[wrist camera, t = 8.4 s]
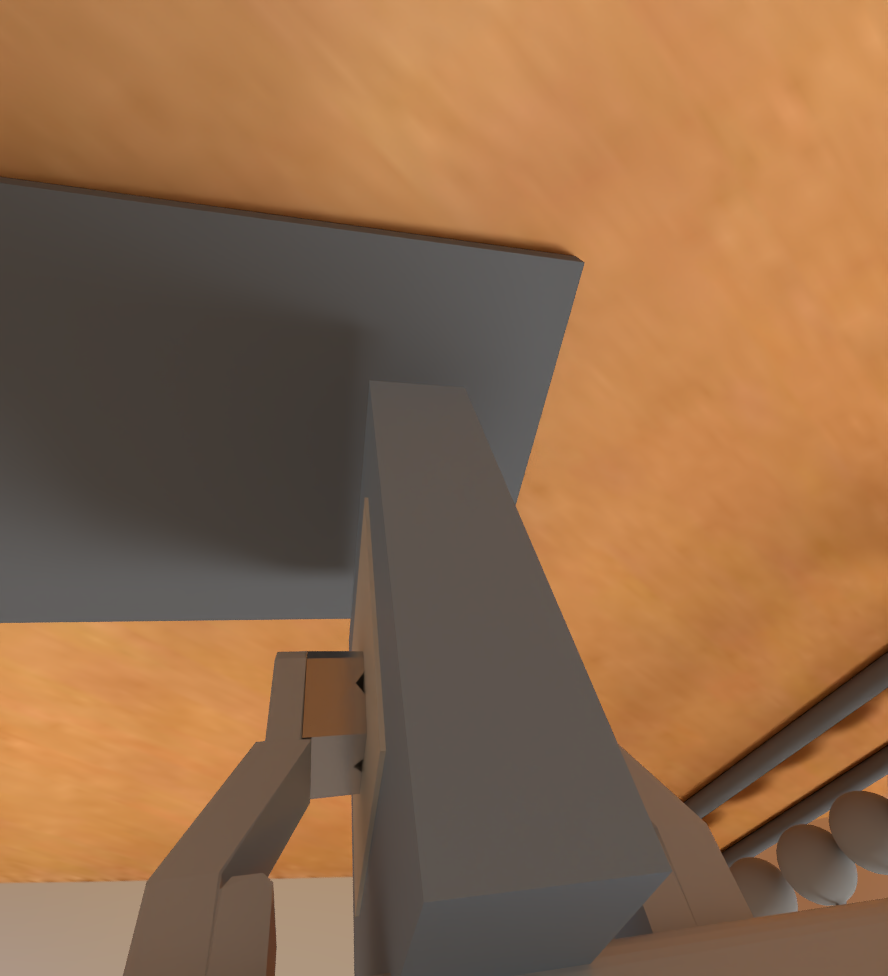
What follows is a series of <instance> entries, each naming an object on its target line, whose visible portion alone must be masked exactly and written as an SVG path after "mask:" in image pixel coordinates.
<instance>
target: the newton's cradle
mask: <svg viewBox="0 0 888 976" xmlns="http://www.w3.org/2000/svg"><path fill="white" fill-rule="evenodd" d="M886 688H888V652H887V653H886V654H884V655H883V656H881V657H880V658H879V659H877V660H876V661H875V662H873V663H872V664H871V665H869V666H868V667H867V668H865V669H864V670H863V671H861V672H860V673H858V674H857V675H856V676H854V677H853V678H852V679H850V680H849V681H848V682H846V683H845V684H844V685H842V686H841V687H840V688H838V689H837V690H836V691H834V692H833V693H831V694H830V695H829V696H827V697H826V698H825V699H823V700H822V701H821V702H819V703H818V704H817V705H815V706H814V707H813V708H811V709H810V710H808V711H807V712H806V713H804V714H803V715H802V716H800V717H799V718H798V719H796V720H795V721H794V722H792V723H791V724H790V725H788V726H787V727H785V728H784V729H783V730H781V731H780V732H779V733H777V734H776V735H775V736H773V737H772V738H771V739H769V740H768V741H767V742H765V743H764V744H762V745H761V746H760V747H758V748H757V749H756V750H754V751H753V752H752V753H750V754H749V755H748V756H746V757H745V758H744V759H742V760H741V761H740V762H738V763H737V764H735V765H734V766H733V767H731V768H730V769H729V770H727V771H726V772H725V773H723V774H722V775H721V776H719V777H718V778H717V779H715V780H714V781H712V782H711V783H710V784H708V785H707V786H706V787H704V788H703V789H702V790H700V791H699V792H698V793H696V794H695V795H694V796H692V797H691V798H689V799H688V800H687V801H685V802H684V804H685V805H687V806H688V807H689V808H690V809H691V810H692V811H693V812H694V813H695V814H696V815H698V816H699V817H700V818H701V819H702V818H703V817H704V816H706V815H707V814H709V813H710V812H711V811H713V810H714V809H716V808H717V807H719V806H720V805H721V804H723V803H724V802H726V801H727V800H729V799H730V798H731V797H733V796H734V795H736V794H737V793H738V792H740V791H741V790H743V789H744V788H746V787H747V786H748V785H750V784H751V783H753V782H754V781H756V780H757V779H758V778H760V777H761V776H763V775H764V774H765V773H767V772H768V771H770V770H771V769H773V768H774V767H775V766H777V765H778V764H780V763H781V762H783V761H784V760H785V759H787V758H788V757H790V756H791V755H792V754H794V753H795V752H797V751H798V750H800V749H801V748H802V747H804V746H805V745H807V744H808V743H810V742H811V741H812V740H814V739H815V738H817V737H818V736H819V735H821V734H822V733H824V732H825V731H827V730H828V729H829V728H831V727H832V726H834V725H835V724H837V723H838V722H839V721H841V720H842V719H844V718H845V717H846V716H848V715H849V714H851V713H852V712H854V711H855V710H856V709H858V708H859V707H861V706H862V705H864V704H865V703H866V702H868V701H869V700H871V699H872V698H873V697H875V696H876V695H878V694H879V693H881V692H882V691H883V690H885V689H886ZM887 774H888V746H886V747H885V748H883V749H882V750H880V751H879V752H877V753H876V754H874V755H873V756H871V757H869V758H868V759H866V760H865V761H863V762H862V763H860V764H859V765H857V766H856V767H854V768H852V769H851V770H849V771H848V772H846V773H845V774H843V775H842V776H840V777H838V778H837V779H835V780H834V781H832V782H831V783H829V784H828V785H826V786H825V787H823V788H821V789H820V790H818V791H817V792H815V793H814V794H812V795H811V796H809V797H807V798H806V799H804V800H803V801H801V802H800V803H798V804H797V805H795V806H794V807H792V808H790V809H789V810H787V811H786V812H784V813H783V814H781V815H780V816H778V817H777V818H775V819H773V820H772V821H770V822H769V823H767V824H766V825H764V826H763V827H761V828H759V829H758V830H756V831H755V832H753V833H752V834H750V835H749V836H747V837H746V838H744V839H742V840H741V841H739V842H738V843H736V844H735V845H733V846H732V847H730V848H728V849H727V850H725V851H724V852H722V855H723V857H724V859H725V861H726V863H727V865H728V867H729V869H730V871H731V873H732V875H733V877H734V879H735V881H736V883H737V885H738V887H739V889H740V891H741V893H742V895H743V897H744V899H745V901H746V903H747V905H748V907H749V909H750V911H751V913H752V915H753V917H754V918H757V917H763V916H770V915H777V914H783V913H790V912H797V910H798V906H797V898H796V895H795V892H794V890H795V891H796V892H798V893H799V894H800V895H801V896H803V897H804V898H806V899H808V900H809V901H812V902H815V903H817V904H821V905H826V906H829V905H834V906H836V905H843V904H847V903H846V901H847V900H848V899H849V898H850V897H851V896H852V895H853V893H854V891H855V889H856V885H857V870H856V866H855V863H856V864H857V865H859V866H861V867H863V868H864V869H867V870H869V871H872V872H874V873H878V874H884V875H888V799H886V798H885V797H883V796H880V795H878V794H875V793H871V792H867V791H861V790H863V789H865V788H866V787H868V786H870V785H871V784H873V783H874V782H876V781H878V780H879V779H881V778H883V777H884V776H886V775H887ZM829 810H830V812H829V826H830V830H831V833H832V834H831V833H830V832H828V831H826V830H824V829H822V828H820V827H817V826H814V825H807V824H808V823H810V822H811V821H813V820H814V819H816V818H818V817H819V816H821V815H823V814H824V813H826V812H827V811H829ZM777 842H778V843H777ZM776 843H777V850H776V852H777V861H778V865H779V868H780V870H781V871H780V870H779V869H778V868H777V867H775V866H774V865H772V864H771V863H769V862H767V861H765V860H762V859H760V858H754V856H756V855H758V854H759V853H761V852H762V851H764V850H766V849H767V848H769V847H771V846H772V845H774V844H776Z"/></svg>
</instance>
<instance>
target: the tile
mask: <svg viewBox="0 0 888 976" xmlns="http://www.w3.org/2000/svg"><path fill="white" fill-rule="evenodd" d="M349 651H363V655H364V680H363V690H362V691H363V692H364V693H365V696H366V720H367V738H366V746H365V754H364V758H363V759H362V779H361V787H360V794H352V852H353V912H354V971H355V972H354V973H355V976H373V975H379V974H386V973H390V974H391V976H516V975H522V974H529V973H535V972H541V971H547V970H554V969H560V968H566V967H572V966H579V965H585V964H591V963H592V962H593V961H594V959H595V958H596V957H597V956H598V955H599V954H600V953H601V952H602V950H603V949H604V948H605V947H606V946H607V945H608V944H609V943H610V941H611V940H612V939H613V938H614V937H615V936H616V935H617V933H618V932H619V931H620V930H621V929H622V928H623V927H624V926H625V924H626V923H627V922H628V921H629V920H630V919H631V918H632V916H633V915H634V914H635V913H636V912H637V911H638V910H639V909H640V907H641V906H642V905H643V904H644V903H645V902H646V901H647V899H648V898H649V897H650V896H651V895H652V894H653V893H654V892H655V890H656V889H657V888H658V887H659V886H660V885H661V884H662V882H663V881H664V880H665V879H666V878H667V877H668V876H669V875H670V873H671V872H672V869H671V867H670V865H669V862H668V860H667V858H666V855H665V853H664V851H663V848H662V846H661V844H660V841H659V839H658V837H657V834H656V832H655V830H654V827H653V825H652V823H651V820H650V818H649V816H648V813H647V811H646V809H645V806H644V804H643V802H642V799H641V797H640V795H639V792H638V790H637V788H636V785H635V783H634V781H633V778H632V776H631V774H630V771H629V769H628V767H627V764H626V762H625V760H624V757H623V755H622V753H621V750H620V748H619V746H618V743H617V741H616V739H615V736H614V734H613V732H612V730H611V727H610V725H609V723H608V720H607V718H606V716H605V713H604V711H603V709H602V706H601V704H600V702H599V699H598V697H597V695H596V692H595V690H594V688H593V685H592V683H591V681H590V678H589V676H588V674H587V671H586V669H585V667H584V664H583V662H582V660H581V657H580V655H579V653H578V650H577V648H576V646H575V643H574V641H573V639H572V636H571V634H570V632H569V629H568V627H567V625H566V622H565V620H564V618H563V615H562V613H561V611H560V608H559V606H558V604H557V601H556V599H555V597H554V595H553V592H552V590H551V588H550V585H549V583H548V581H547V578H546V576H545V574H544V571H543V569H542V567H541V564H540V562H539V560H538V557H537V555H536V553H535V550H534V548H533V546H532V543H531V541H530V539H529V536H528V534H527V532H526V529H525V527H524V525H523V522H522V520H521V518H520V515H519V513H518V511H517V508H516V506H515V504H514V501H513V499H512V497H511V494H510V492H509V490H508V487H507V485H506V483H505V480H504V478H503V476H502V473H501V471H500V469H499V466H498V464H497V462H496V460H495V457H494V455H493V453H492V450H491V448H490V446H489V443H488V441H487V439H486V436H485V434H484V432H483V429H482V427H481V425H480V422H479V420H478V418H477V415H476V413H475V411H474V408H473V406H472V404H471V401H470V399H469V397H468V394H467V392H466V390H465V388H464V387H451V386H437V385H424V384H411V383H398V382H384V381H371V380H369V393H368V406H367V418H366V431H365V444H364V457H363V469H362V482H361V495H360V508H359V520H358V533H357V546H356V558H355V571H354V584H353V597H352V609H351V622H350V635H349Z"/></svg>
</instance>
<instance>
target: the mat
mask: <svg viewBox="0 0 888 976" xmlns="http://www.w3.org/2000/svg"><path fill="white" fill-rule="evenodd" d="M584 263H585V262H583V261H582V260H580V259H579V258H577V257H576V256H570V255H563V254H556V253H548V252H541V251H534V250H527V249H519V248H512V247H505V246H498V245H490V244H483V243H476V242H469V241H461V240H454V239H447V238H440V237H433V236H425V235H418V234H411V233H404V232H396V231H389V230H382V229H375V228H367V227H360V226H353V225H346V224H338V223H331V222H324V221H317V220H309V219H302V218H295V217H288V216H280V215H273V214H266V213H259V212H252V211H244V210H237V209H230V208H223V207H215V206H208V205H201V204H194V203H186V202H179V201H172V200H165V199H157V198H150V197H143V196H136V195H128V194H121V193H114V192H107V191H99V190H92V189H85V188H78V187H71V186H63V185H56V184H49V183H42V182H34V181H27V180H20V179H13V178H5V177H0V623H31V622H112V621H192V620H272V619H351V609H352V597H353V584H354V571H355V558H356V546H357V533H358V520H359V508H360V495H361V482H362V469H363V457H364V444H365V431H366V418H367V406H368V393H369V380H371V381H384V382H398V383H411V384H424V385H437V386H451V387H464V388H465V390H466V392H467V394H468V397H469V399H470V401H471V404H472V406H473V408H474V411H475V413H476V415H477V418H478V420H479V422H480V425H481V427H482V429H483V432H484V434H485V436H486V439H487V441H488V443H489V446H490V448H491V450H492V453H493V455H494V457H495V460H496V462H497V464H498V466H499V469H500V471H501V473H502V476H503V478H504V480H505V483H506V485H507V487H508V490H509V492H510V494H511V497H512V499H513V501H514V504H515V505H516V502H517V498H518V495H519V491H520V488H521V484H522V481H523V477H524V474H525V470H526V467H527V463H528V460H529V456H530V453H531V449H532V446H533V442H534V438H535V435H536V431H537V428H538V424H539V421H540V417H541V414H542V410H543V407H544V403H545V400H546V396H547V393H548V389H549V386H550V382H551V379H552V375H553V372H554V368H555V365H556V361H557V358H558V354H559V351H560V347H561V344H562V340H563V337H564V333H565V330H566V326H567V323H568V319H569V315H570V312H571V308H572V305H573V301H574V298H575V294H576V291H577V287H578V284H579V280H580V277H581V273H582V270H583V266H584Z"/></svg>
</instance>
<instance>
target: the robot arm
mask: <svg viewBox="0 0 888 976" xmlns="http://www.w3.org/2000/svg"><path fill="white" fill-rule="evenodd" d="M363 680H364V655H363V651H302V652H277V655H276V658H275V663H274V671H273V680H272V688H271V697H270V705H269V714H268V722H267V731H266V739H265V741H263V742H256V743H255V744H254V745H253V747H252V748H251V749H250V750H249V752H248V753H247V754H246V756H245V757H244V758H243V759H242V761H241V762H240V763H239V764H238V766H237V767H236V768H235V770H234V771H233V772H232V773H231V775H230V776H229V777H228V779H227V780H226V781H225V782H224V784H223V785H222V786H221V787H220V789H219V790H218V791H217V793H216V794H215V795H214V796H213V798H212V799H211V800H210V802H209V803H208V804H207V805H206V807H205V808H204V809H203V810H202V812H201V813H200V814H199V816H198V817H197V818H196V819H195V821H194V822H193V823H192V825H191V826H190V827H189V828H188V830H187V831H186V832H185V834H184V835H183V836H182V837H181V839H180V840H179V841H178V842H177V844H176V845H175V846H174V848H173V849H172V850H171V851H170V853H169V854H168V855H167V857H166V858H165V859H164V860H163V862H162V863H161V864H160V865H159V867H158V868H157V869H156V871H155V872H154V873H153V874H152V876H151V877H150V878H149V880H148V881H147V883H146V886H145V890H144V894H143V898H142V903H141V906H140V910H139V915H138V918H137V923H136V926H135V930H134V934H133V938H132V942H131V946H130V950H129V954H128V958H127V962H126V966H125V970H124V974H123V976H275V964H276V947H277V946H276V928H275V909H274V891H273V882H272V881H271V880H270V879H269V878H268V876H269V874H270V872H271V870H272V869H273V867H274V865H275V863H276V862H277V860H278V858H279V856H280V855H281V853H282V851H283V849H284V848H285V846H286V844H287V842H288V840H289V839H290V837H291V835H292V833H293V832H294V830H295V828H296V826H297V825H298V823H299V821H300V819H301V818H302V816H303V814H304V812H305V810H306V809H307V807H308V805H309V803H310V799H316V798H325V797H334V796H343V795H352V794H360V787H361V779H362V759H363V758H364V754H365V746H366V738H367V720H366V696H365V693H364V692H363V691H362V690H363ZM618 746H619V748H620V750H621V753H622V755H623V757H624V760H625V762H626V764H627V767H628V769H629V771H630V774H631V776H632V778H633V781H634V783H635V785H636V788H637V790H638V792H639V795H640V797H641V799H642V802H643V804H644V806H645V809H646V811H647V813H648V816H649V818H650V820H651V823H652V825H653V827H654V830H655V832H656V834H657V837H658V839H659V841H660V844H661V846H662V848H663V851H664V853H665V855H666V858H667V860H668V862H669V865H670V867H671V869H672V872H671V873H670V875H669V876H668V877H667V878H666V879H665V880H664V881H663V882H662V884H661V885H660V886H659V887H658V888H657V889H656V890H655V892H654V893H653V894H652V895H651V896H650V897H649V898H648V899H647V901H646V902H645V903H644V904H643V905H642V906H641V907H640V909H639V910H638V911H637V912H636V913H635V914H634V915H633V916H632V918H631V919H630V920H629V921H628V922H627V923H626V924H625V926H624V927H623V928H622V929H621V930H620V931H619V932H618V933H617V935H616V936H615V937H614V938H613V939H612V940H611V941H610V943H609V944H608V945H607V946H606V947H605V948H604V949H603V950H602V952H601V953H600V954H599V955H598V956H597V957H596V958H595V959H594V961H593V962H592V963H591V964H585V965H579V966H572V967H566V968H560V969H554V970H547V971H541V972H535V973H529V974H522V975H516V976H888V898H884V899H876V900H869V901H863V902H856V903H850V904H843V905H836V906H830V907H823V908H817V909H810V910H803V911H797V912H790V913H783V914H777V915H770V916H763V917H757V918H754V917H753V915H752V913H751V911H750V909H749V907H748V905H747V903H746V901H745V899H744V897H743V895H742V893H741V891H740V889H739V887H738V885H737V883H736V881H735V879H734V877H733V875H732V873H731V871H730V869H729V867H728V865H727V863H726V861H725V859H724V857H723V855H722V853H721V851H720V849H719V847H718V845H717V843H716V841H715V839H714V837H713V835H712V833H711V831H710V829H709V827H708V825H707V824H706V823H705V822H704V821H703V820H702V819H701V818H700V817H699V816H698V815H696V814H695V813H694V812H693V811H692V810H691V809H690V808H689V807H688V806H687V805H685V804H684V803H683V802H682V801H681V800H680V799H679V798H678V797H677V796H675V795H674V794H673V793H672V792H671V791H670V790H669V789H668V788H667V787H665V786H664V785H663V784H662V783H661V782H660V781H659V780H658V779H657V778H655V777H654V776H653V775H652V774H651V773H650V772H649V771H648V770H647V769H645V768H644V767H643V766H642V765H641V764H640V763H639V762H638V761H637V760H635V759H634V758H633V757H632V756H631V755H630V754H629V753H628V752H627V751H626V750H624V749H623V748H622V747H621V746H620V745H619V744H618ZM373 976H391V974H390V973H386V974H379V975H373Z"/></svg>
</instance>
